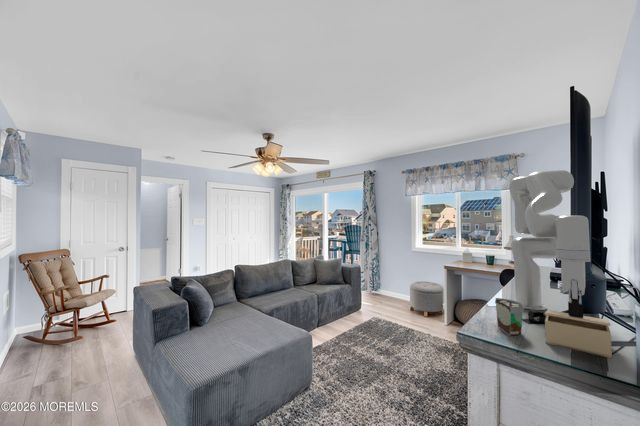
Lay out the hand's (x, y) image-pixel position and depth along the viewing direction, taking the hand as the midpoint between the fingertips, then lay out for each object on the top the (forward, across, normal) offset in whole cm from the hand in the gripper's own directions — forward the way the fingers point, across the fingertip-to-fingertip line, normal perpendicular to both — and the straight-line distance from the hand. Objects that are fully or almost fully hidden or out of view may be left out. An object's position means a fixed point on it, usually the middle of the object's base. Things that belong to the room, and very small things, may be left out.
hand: (575, 316), depth 81 cm
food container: (+10, -2, -16) cm, 19 cm away
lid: (+1, -3, 0) cm, 3 cm away
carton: (+9, -3, 0) cm, 10 cm away
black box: (+10, -20, -11) cm, 25 cm away
